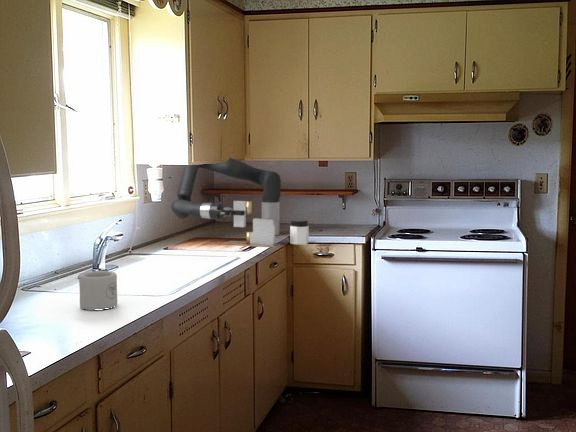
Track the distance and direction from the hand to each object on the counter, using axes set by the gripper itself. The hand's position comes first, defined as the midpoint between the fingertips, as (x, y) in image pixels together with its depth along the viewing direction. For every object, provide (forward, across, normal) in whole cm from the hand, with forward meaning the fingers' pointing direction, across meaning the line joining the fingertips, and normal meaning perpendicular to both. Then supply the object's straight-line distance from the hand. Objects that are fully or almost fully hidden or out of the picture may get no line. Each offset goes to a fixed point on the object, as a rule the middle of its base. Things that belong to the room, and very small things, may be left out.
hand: (245, 212), depth 321 cm
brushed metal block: (-1, 0, +7) cm, 7 cm away
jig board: (+3, 0, +16) cm, 16 cm away
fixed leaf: (+8, 0, +14) cm, 16 cm away
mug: (+5, -122, +16) cm, 123 cm away
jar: (+23, +11, +16) cm, 30 cm away
